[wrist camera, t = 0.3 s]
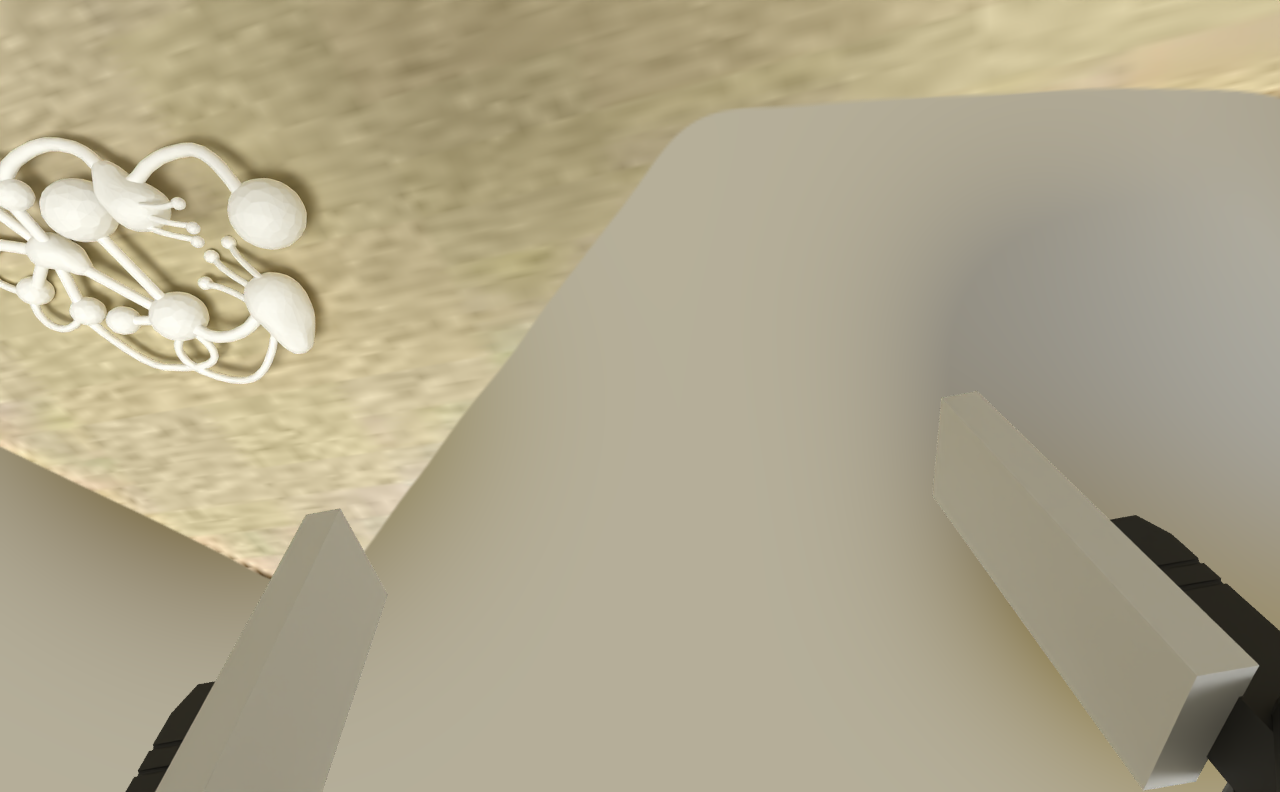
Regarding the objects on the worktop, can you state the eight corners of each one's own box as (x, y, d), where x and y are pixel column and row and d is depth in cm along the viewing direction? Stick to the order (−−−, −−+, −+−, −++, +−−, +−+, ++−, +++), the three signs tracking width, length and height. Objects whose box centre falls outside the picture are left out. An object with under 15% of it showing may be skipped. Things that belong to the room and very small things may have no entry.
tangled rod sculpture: (17, 329, 41) (-36, 364, 38) (-84, 87, 33) (-164, 104, 30) (334, 372, 44) (310, 408, 40) (313, 157, 35) (281, 180, 32)
